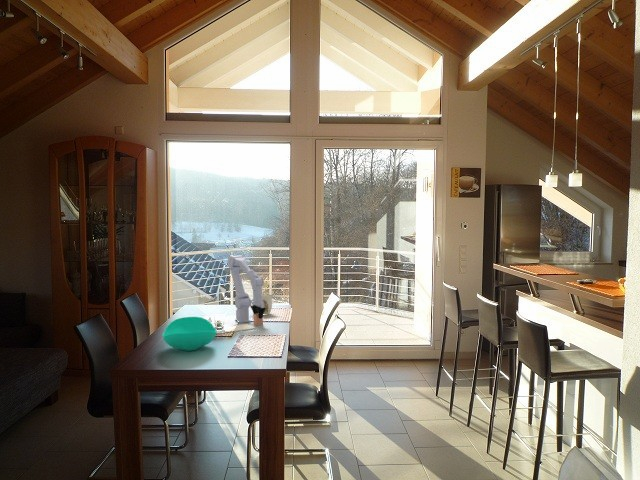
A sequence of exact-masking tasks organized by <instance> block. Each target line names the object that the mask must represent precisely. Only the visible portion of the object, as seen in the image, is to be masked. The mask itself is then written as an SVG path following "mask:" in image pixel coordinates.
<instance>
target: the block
mask: <svg viewBox="0 0 640 480" xmlns="http://www.w3.org/2000/svg"><path fill="white" fill-rule="evenodd" d="M252 314H253V313H252ZM252 319H253V325H254V326H255V327H259V326H263V325H264V317H263V318H261V319H259V317H258V313H257V314H253V317H252Z"/></svg>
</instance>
